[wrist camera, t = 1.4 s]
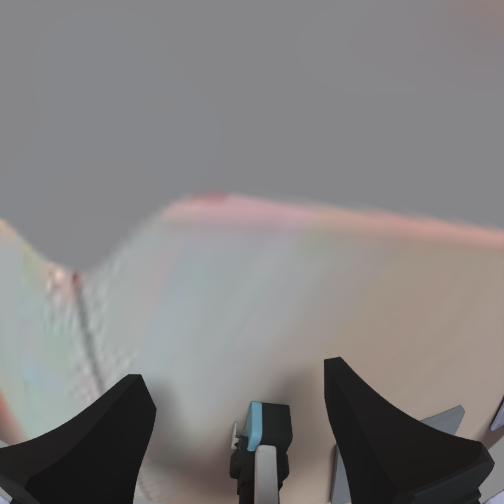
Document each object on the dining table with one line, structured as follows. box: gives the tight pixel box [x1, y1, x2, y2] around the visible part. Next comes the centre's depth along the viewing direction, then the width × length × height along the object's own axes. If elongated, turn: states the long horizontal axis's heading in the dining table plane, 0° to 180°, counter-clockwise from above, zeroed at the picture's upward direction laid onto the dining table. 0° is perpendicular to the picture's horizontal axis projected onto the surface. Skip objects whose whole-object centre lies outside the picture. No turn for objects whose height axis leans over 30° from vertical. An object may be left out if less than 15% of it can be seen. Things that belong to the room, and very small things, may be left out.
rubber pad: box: [330, 405, 465, 504], centre depth 17 cm, size 10×10×1 cm
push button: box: [229, 402, 293, 504], centre depth 11 cm, size 7×5×10 cm
